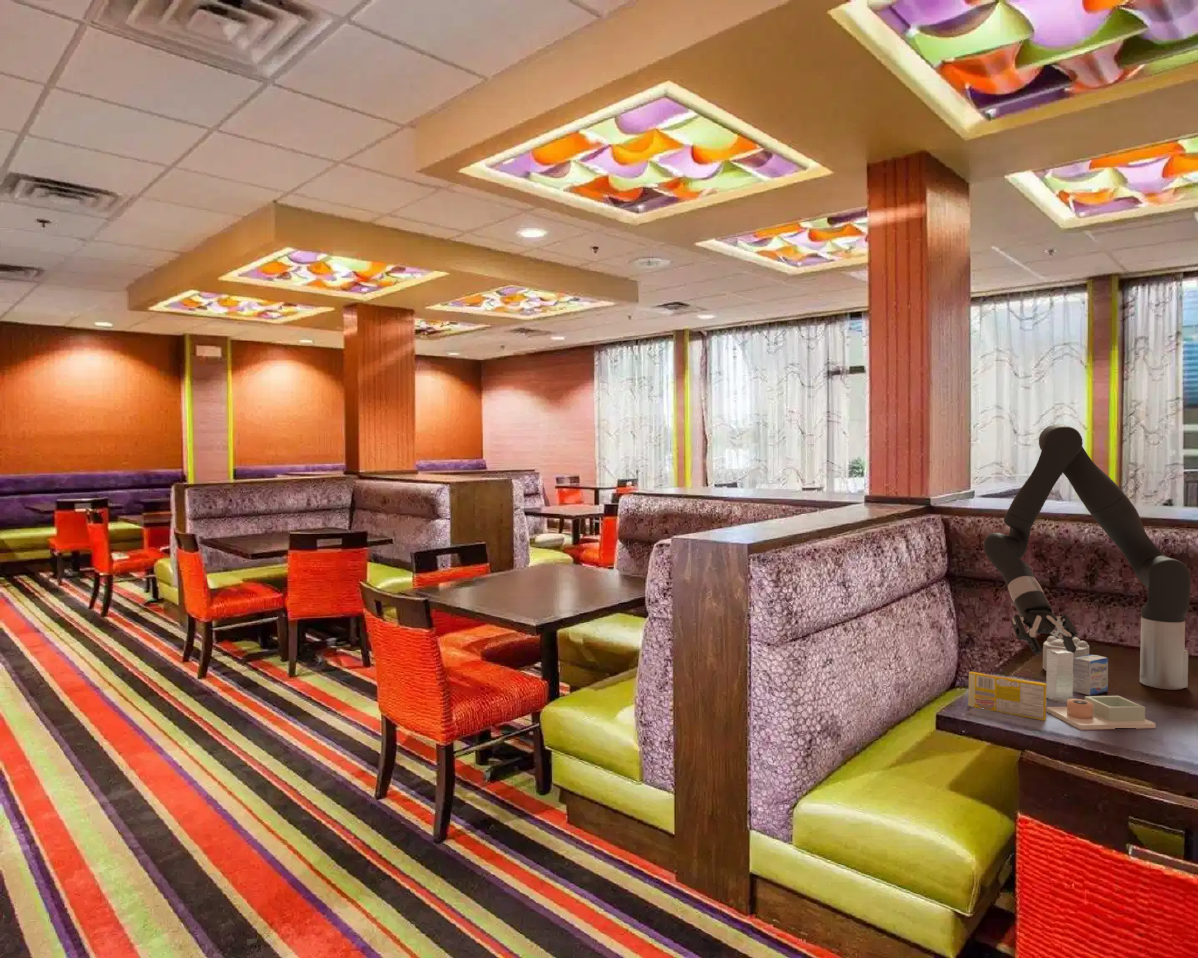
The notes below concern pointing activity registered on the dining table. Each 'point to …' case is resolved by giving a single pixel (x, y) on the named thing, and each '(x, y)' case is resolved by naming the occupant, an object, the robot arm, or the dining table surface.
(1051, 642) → the lumpy-topped squat cylinder
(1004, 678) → the candy box
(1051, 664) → the plain beige rectangular box
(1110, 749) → the dining table surface
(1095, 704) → the organizer
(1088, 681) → the medicine box
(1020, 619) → the robot arm
